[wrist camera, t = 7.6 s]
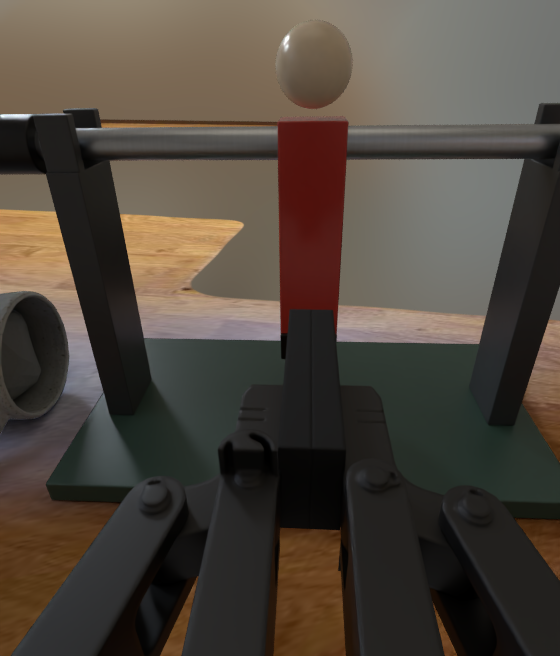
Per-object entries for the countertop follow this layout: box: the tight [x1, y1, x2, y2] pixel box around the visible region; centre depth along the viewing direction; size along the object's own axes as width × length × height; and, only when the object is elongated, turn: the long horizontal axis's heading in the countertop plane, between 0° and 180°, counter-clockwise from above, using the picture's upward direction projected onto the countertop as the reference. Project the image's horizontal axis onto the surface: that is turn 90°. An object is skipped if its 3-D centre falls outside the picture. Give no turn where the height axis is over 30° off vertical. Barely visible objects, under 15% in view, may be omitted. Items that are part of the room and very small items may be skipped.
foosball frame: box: [33, 103, 560, 519], centre depth 24 cm, size 26×14×17 cm, turn 87°
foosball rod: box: [0, 20, 560, 359], centre depth 22 cm, size 26×4×16 cm, turn 87°
